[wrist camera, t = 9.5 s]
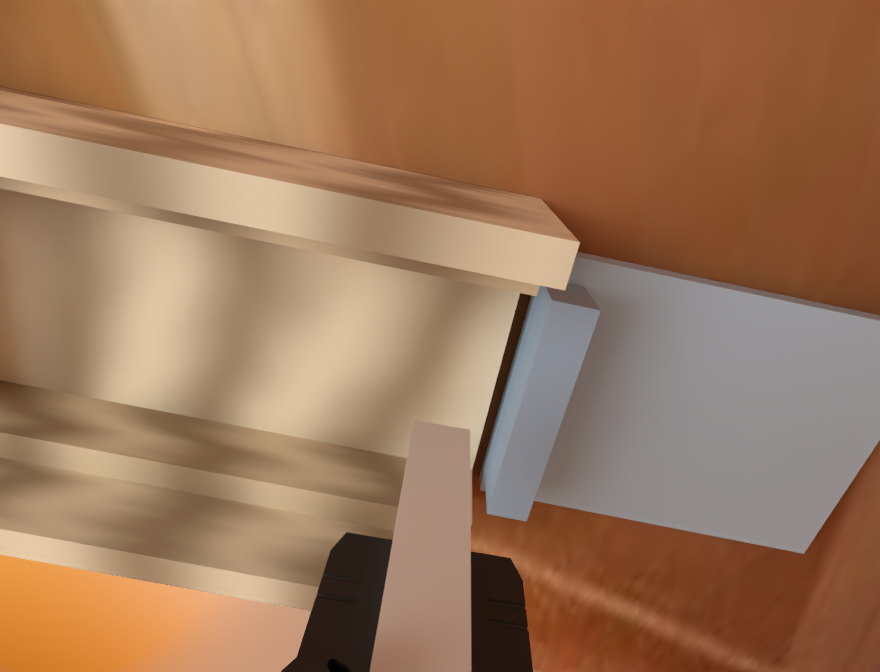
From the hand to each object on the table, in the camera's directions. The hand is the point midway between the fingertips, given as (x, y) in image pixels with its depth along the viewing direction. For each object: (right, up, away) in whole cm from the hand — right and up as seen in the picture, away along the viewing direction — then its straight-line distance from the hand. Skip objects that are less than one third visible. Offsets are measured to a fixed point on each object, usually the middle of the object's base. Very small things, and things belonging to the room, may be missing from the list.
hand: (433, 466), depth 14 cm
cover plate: (+10, +1, +8) cm, 13 cm away
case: (-8, +4, +7) cm, 12 cm away
